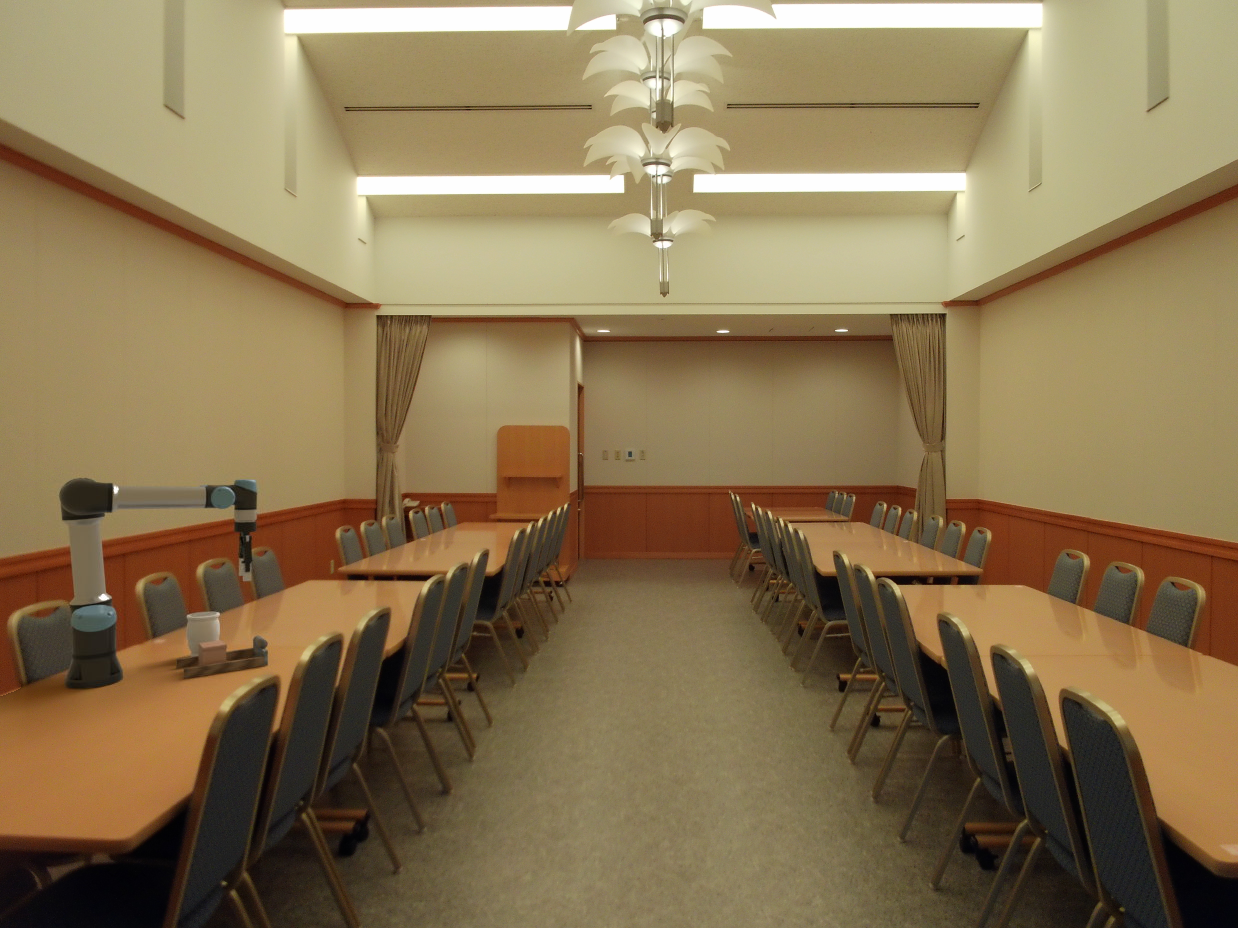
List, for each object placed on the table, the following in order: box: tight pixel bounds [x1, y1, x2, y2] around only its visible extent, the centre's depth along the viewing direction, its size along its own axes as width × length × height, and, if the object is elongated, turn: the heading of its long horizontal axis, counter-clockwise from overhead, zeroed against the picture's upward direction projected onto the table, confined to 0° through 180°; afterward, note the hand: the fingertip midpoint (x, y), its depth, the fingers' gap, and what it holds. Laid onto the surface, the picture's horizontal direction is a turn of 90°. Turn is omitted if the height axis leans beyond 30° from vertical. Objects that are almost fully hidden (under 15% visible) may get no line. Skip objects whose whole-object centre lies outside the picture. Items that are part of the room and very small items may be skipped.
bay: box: [176, 635, 269, 679], centre depth 255 cm, size 26×16×8 cm, turn 129°
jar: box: [185, 611, 221, 657], centre depth 268 cm, size 11×10×15 cm
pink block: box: [198, 639, 228, 666], centre depth 253 cm, size 7×8×8 cm
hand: (245, 578), depth 275 cm, fingers open, 13 cm apart
